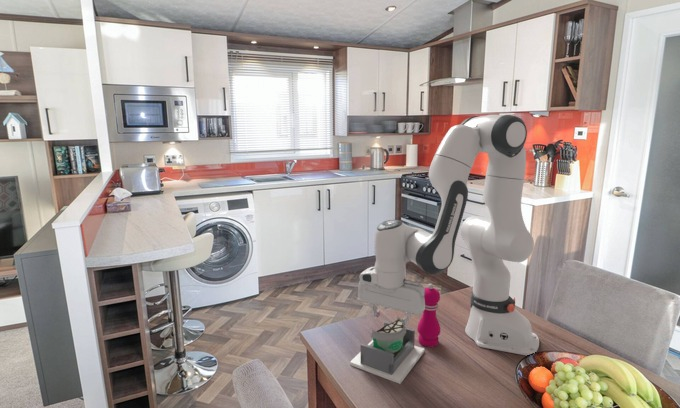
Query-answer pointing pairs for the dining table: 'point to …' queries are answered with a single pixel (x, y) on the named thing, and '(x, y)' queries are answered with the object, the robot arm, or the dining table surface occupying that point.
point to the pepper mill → (429, 318)
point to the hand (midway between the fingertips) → (390, 320)
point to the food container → (390, 337)
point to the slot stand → (389, 358)
